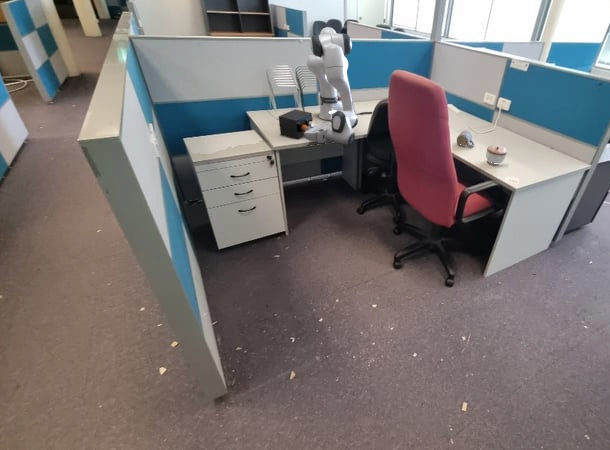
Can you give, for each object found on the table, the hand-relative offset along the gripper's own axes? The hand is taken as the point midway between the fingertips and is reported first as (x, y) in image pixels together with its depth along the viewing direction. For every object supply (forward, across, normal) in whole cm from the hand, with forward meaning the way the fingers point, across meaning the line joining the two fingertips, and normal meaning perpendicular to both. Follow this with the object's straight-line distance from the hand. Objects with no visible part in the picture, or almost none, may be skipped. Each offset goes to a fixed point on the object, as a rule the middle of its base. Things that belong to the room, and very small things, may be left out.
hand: (307, 128), depth 191 cm
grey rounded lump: (-85, -43, +6) cm, 96 cm away
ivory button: (+2, -7, +2) cm, 8 cm away
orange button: (+2, 0, +2) cm, 3 cm away
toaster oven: (+10, -5, +6) cm, 12 cm away
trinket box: (-105, -26, +6) cm, 109 cm away
